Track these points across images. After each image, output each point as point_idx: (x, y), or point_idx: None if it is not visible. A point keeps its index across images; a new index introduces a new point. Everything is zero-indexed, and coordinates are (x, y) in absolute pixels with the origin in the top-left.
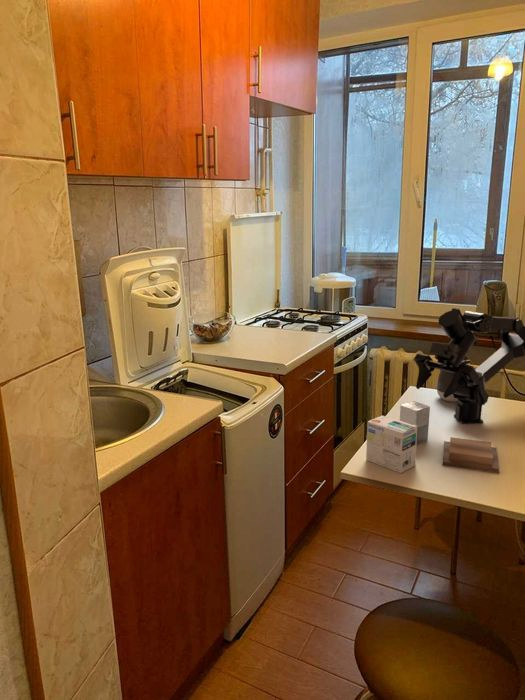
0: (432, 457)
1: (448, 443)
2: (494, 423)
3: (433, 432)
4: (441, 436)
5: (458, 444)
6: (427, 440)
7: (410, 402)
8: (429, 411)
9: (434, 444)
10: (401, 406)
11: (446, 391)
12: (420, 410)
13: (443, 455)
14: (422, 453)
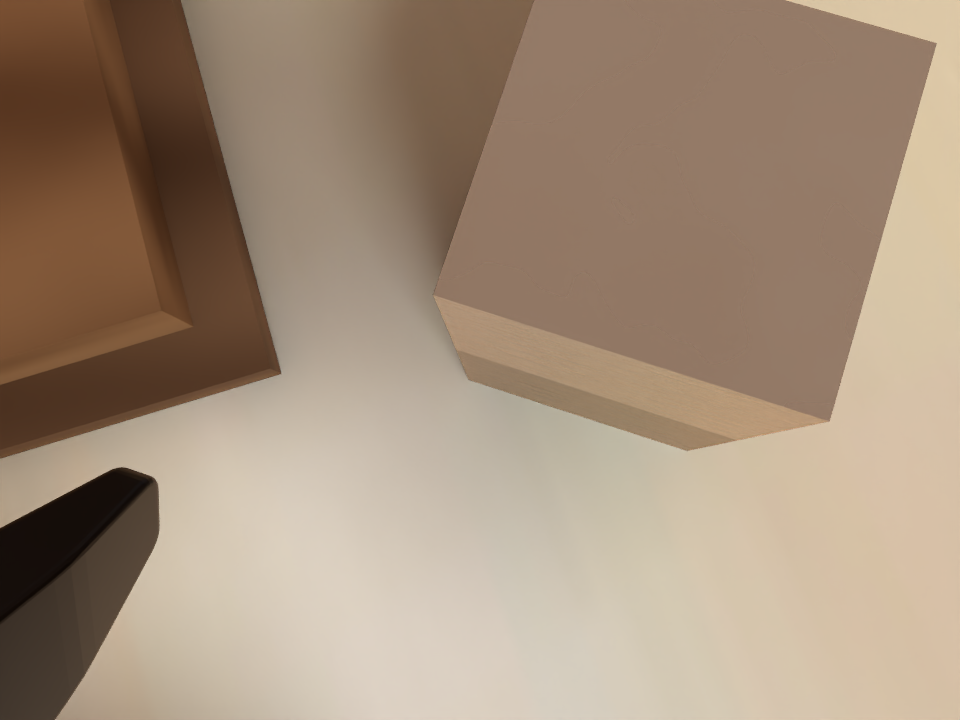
0: (284, 12)
1: (211, 333)
2: None
3: (495, 654)
4: (376, 588)
5: (28, 157)
6: (469, 378)
7: (845, 295)
8: (442, 312)
9: (369, 321)
10: (902, 49)
11: (33, 541)
12: (522, 48)
13: (171, 15)
14: (397, 40)
